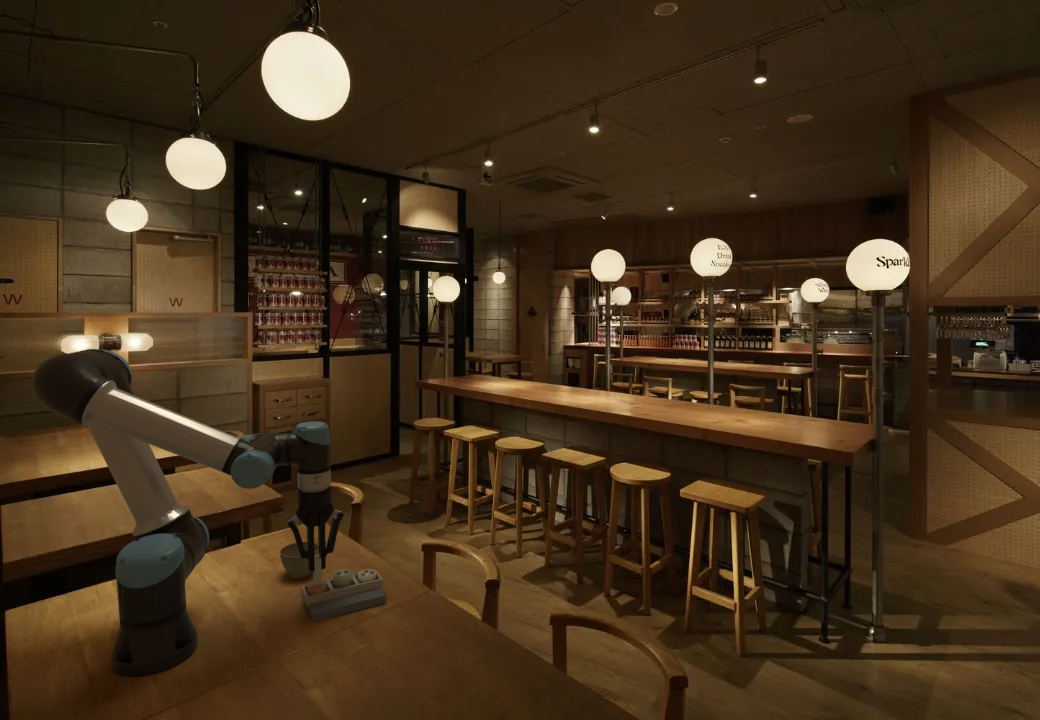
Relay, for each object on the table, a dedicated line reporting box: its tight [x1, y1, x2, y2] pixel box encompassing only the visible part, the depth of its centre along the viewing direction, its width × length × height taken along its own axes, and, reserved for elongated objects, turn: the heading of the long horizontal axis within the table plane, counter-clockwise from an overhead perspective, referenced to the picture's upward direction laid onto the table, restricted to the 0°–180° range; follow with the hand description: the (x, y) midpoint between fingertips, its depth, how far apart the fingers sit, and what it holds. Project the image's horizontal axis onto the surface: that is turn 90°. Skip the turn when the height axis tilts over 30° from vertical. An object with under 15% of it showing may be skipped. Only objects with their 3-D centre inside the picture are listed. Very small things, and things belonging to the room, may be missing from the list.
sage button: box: [332, 568, 353, 587], centre depth 142 cm, size 4×4×3 cm
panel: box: [300, 568, 387, 623], centre depth 143 cm, size 18×15×4 cm
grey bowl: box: [279, 541, 319, 580], centre depth 154 cm, size 10×10×7 cm
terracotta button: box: [307, 579, 327, 596], centre depth 139 cm, size 4×4×3 cm
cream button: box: [357, 568, 376, 584], centre depth 145 cm, size 4×4×3 cm
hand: (317, 582), depth 139 cm, fingers closed
